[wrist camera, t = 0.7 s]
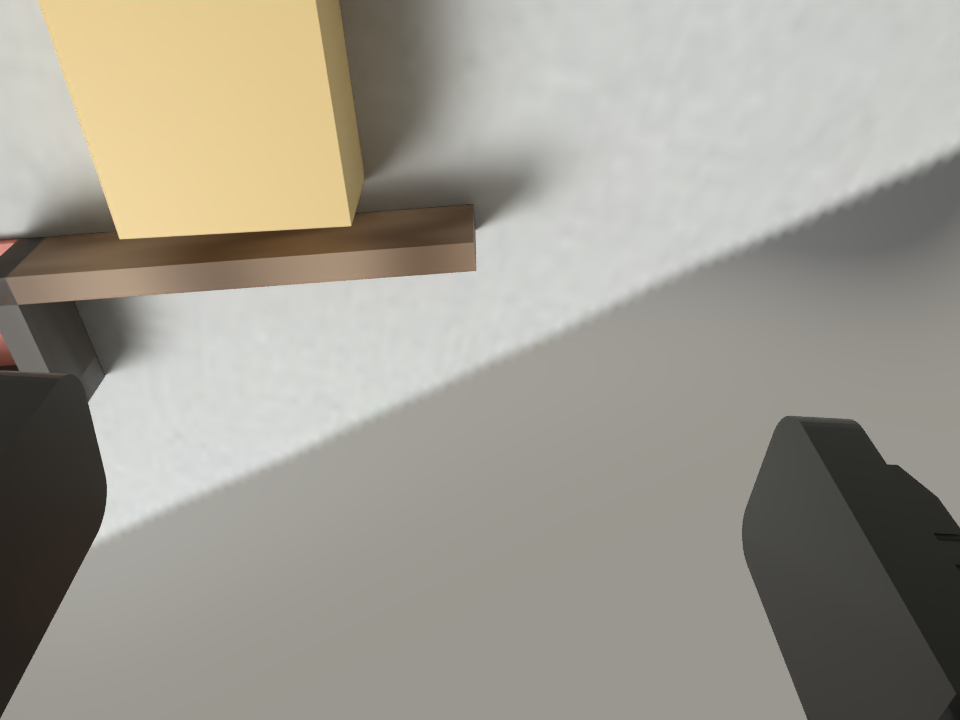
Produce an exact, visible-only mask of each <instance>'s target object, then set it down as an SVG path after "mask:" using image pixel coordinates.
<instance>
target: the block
mask: <svg viewBox="0 0 960 720" xmlns="http://www.w3.org/2000/svg"><path fill="white" fill-rule="evenodd" d="M38 2H39V5H40V7H41V10H42V13H43V16H44V19H45V22H46V25H47V28H48V31H49V34H50V37H51V40H52V43H53V46H54V49H55V51H56V54H57V57H58V60H59V63H60V66H61V69H62V72H63V75H64V78H65V81H66V84H67V87H68V90H69V93H70V95H71V98H72V101H73V104H74V107H75V110H76V113H77V116H78V119H79V122H80V125H81V128H82V131H83V134H84V136H85V139H86V142H87V145H88V148H89V151H90V154H91V157H92V160H93V163H94V166H95V169H96V172H97V175H98V178H99V180H100V183H101V186H102V189H103V192H104V195H105V198H106V201H107V204H108V207H109V210H110V213H111V216H112V219H113V222H114V224H115V227H116V230H117V233H118V236H119V239H134V238H152V237H169V236H187V235H205V234H222V233H240V232H258V231H275V230H293V229H311V228H328V227H346V226H352V222H353V219H354V215H355V212H356V209H357V205H358V202H359V198H360V195H361V191H362V188H363V184H364V181H365V176H364V170H363V163H362V156H361V149H360V142H359V135H358V128H357V121H356V114H355V107H354V100H353V93H352V86H351V79H350V72H349V65H348V58H347V51H346V44H345V37H344V30H343V23H342V16H341V9H340V2H339V0H38Z"/></svg>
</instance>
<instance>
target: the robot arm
mask: <svg viewBox="0 0 960 720" xmlns="http://www.w3.org/2000/svg"><path fill="white" fill-rule="evenodd" d="M106 497H107V484H106V476H105V472H104V468H103V463H102V459H101V455H100V451H99V447H98V443H97V438H96V434H95V430H94V426H93V422H92V418H91V414H90V409H89V405H88V401H87V397H86V393H85V390H84V387H83V384H82V382H81V381H80V379H79V378H78V377H77V376H75V375H73V374H60V373H42V372H24V371H5V370H2V371H0V718H1V716H2V714H3V712H4V710H5V708H6V706H7V704H8V703H9V701H10V699H11V697H12V695H13V693H14V691H15V689H16V687H17V685H18V684H19V682H20V680H21V678H22V676H23V674H24V672H25V670H26V668H27V666H28V664H29V663H30V661H31V659H32V657H33V655H34V653H35V651H36V649H37V647H38V645H39V644H40V642H41V640H42V638H43V636H44V634H45V632H46V630H47V628H48V626H49V625H50V622H51V621H52V619H53V617H54V615H55V613H56V611H57V609H58V607H59V605H60V604H61V602H62V600H63V598H64V596H65V594H66V592H67V590H68V588H69V586H70V585H71V583H72V581H73V579H74V577H75V575H76V573H77V571H78V569H79V567H80V565H81V564H82V562H83V560H84V558H85V556H86V554H87V552H88V550H89V548H90V547H91V545H92V543H93V541H94V539H95V537H96V535H97V533H98V531H99V529H100V526H101V523H102V520H103V516H104V512H105V506H106ZM742 541H743V550H744V555H745V559H746V562H747V565H748V568H749V570H750V573H751V575H752V578H753V581H754V583H755V586H756V588H757V591H758V594H759V596H760V598H761V601H762V604H763V606H764V609H765V612H766V614H767V617H768V619H769V622H770V624H771V627H772V629H773V632H774V634H775V637H776V640H777V642H778V645H779V647H780V650H781V653H782V655H783V657H784V660H785V663H786V665H787V668H788V671H789V673H790V675H791V678H792V681H793V683H794V686H795V688H796V691H797V694H798V696H799V699H800V701H801V704H802V706H803V709H804V711H805V714H806V716H807V719H808V720H960V528H959V526H958V525H957V523H956V522H955V521H954V519H953V518H952V516H951V515H950V514H949V512H948V511H947V510H946V508H945V507H944V506H943V504H942V503H941V501H940V500H939V498H938V497H937V496H935V495H934V494H933V493H932V492H930V491H929V490H928V489H927V488H925V487H924V486H923V485H922V484H921V483H919V482H918V481H917V480H916V479H914V478H913V477H912V476H911V475H909V474H908V473H907V472H906V471H904V470H903V469H902V468H901V467H900V466H898V465H887V464H886V462H885V461H884V459H883V458H882V456H881V455H880V453H879V452H878V451H877V449H876V448H875V446H874V444H873V443H872V442H871V440H870V439H869V437H868V436H867V434H866V433H865V431H864V430H863V428H862V427H861V426H860V425H859V424H858V423H857V422H856V421H854V420H851V419H837V418H818V417H801V416H786V417H784V418H783V419H781V421H780V422H779V423H778V425H777V426H776V428H775V430H774V433H773V436H772V438H771V441H770V444H769V447H768V449H767V452H766V455H765V457H764V460H763V463H762V466H761V468H760V471H759V474H758V476H757V479H756V482H755V485H754V488H753V490H752V493H751V495H750V498H749V501H748V504H747V507H746V510H745V513H744V518H743V526H742Z"/></svg>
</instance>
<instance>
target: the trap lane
mask: <svg viewBox="0 0 960 720" xmlns="http://www.w3.org/2000/svg"><path fill="white" fill-rule="evenodd" d="M467 271H476V239H475V221H474V210H473V204H471V205H458V206H445V207H432V208H419V209H406V210H393V211H380V212H367V213H355V215H354V219H353V222H352V226H346V227H328V228H311V229H293V230H275V231H258V232H240V233H222V234H205V235H187V236H169V237H152V238H134V239H119V236H118V233H117V232H106V233H93V234H80V235H67V236H54V237H41V238H28V239H15V240H2V241H0V371H2V370H5V371H24V372H42V373H60V374H73V375H75V376H77V377H78V378H79V379H80V381H81V382H82V384H83V387H84V390H85V393H86V397H87V401H88V402H89V400H90V398H91V397H92V395H93V394H94V392H95V391H96V389H97V388H98V386H99V385H100V383H101V382H102V380H103V379H104V377H105V375H104V372H103V370H102V368H101V365H100V363H99V360H98V358H97V356H96V353H95V351H94V349H93V346H92V344H91V341H90V339H89V337H88V334H87V332H86V330H85V327H84V325H83V322H82V320H81V318H80V315H79V313H78V311H77V308H76V306H75V303H74V301H76V300H89V299H103V298H116V297H130V296H143V295H157V294H170V293H184V292H197V291H211V290H224V289H238V288H251V287H265V286H278V285H292V284H305V283H319V282H332V281H346V280H359V279H373V278H386V277H399V276H413V275H426V274H440V273H453V272H467Z"/></svg>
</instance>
